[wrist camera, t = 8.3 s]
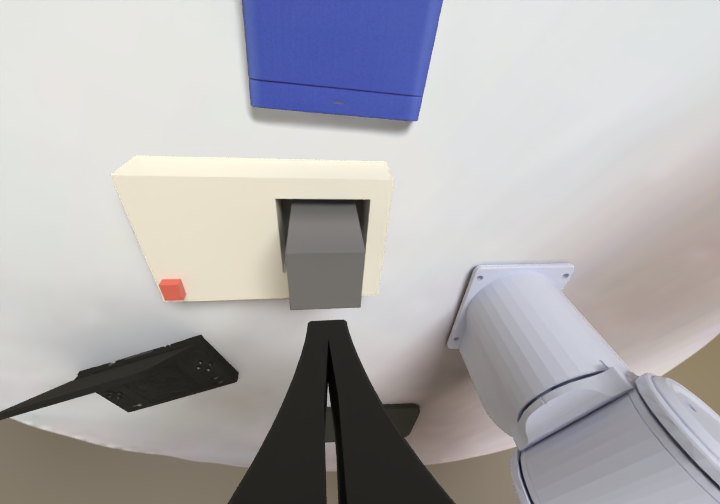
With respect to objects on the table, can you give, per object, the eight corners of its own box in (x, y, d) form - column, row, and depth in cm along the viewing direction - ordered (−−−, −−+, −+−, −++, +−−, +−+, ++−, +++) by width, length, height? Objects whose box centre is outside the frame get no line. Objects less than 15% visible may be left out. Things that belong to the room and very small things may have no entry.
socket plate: (372, 270, 23) (379, 300, 20) (178, 274, 21) (160, 308, 18) (385, 161, 18) (396, 183, 15) (135, 155, 16) (103, 179, 14)
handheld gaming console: (145, 430, 29) (20, 522, 19) (110, 360, 29) (-31, 415, 19) (252, 371, 28) (180, 435, 18) (214, 301, 29) (123, 326, 19)
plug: (349, 239, 20) (360, 307, 16) (296, 239, 20) (290, 309, 15) (352, 191, 18) (365, 252, 14) (293, 190, 18) (285, 253, 13)
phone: (282, 412, 32) (422, 407, 34) (282, 404, 33) (420, 399, 35) (282, 445, 36) (407, 438, 39) (283, 437, 37) (406, 431, 39)
